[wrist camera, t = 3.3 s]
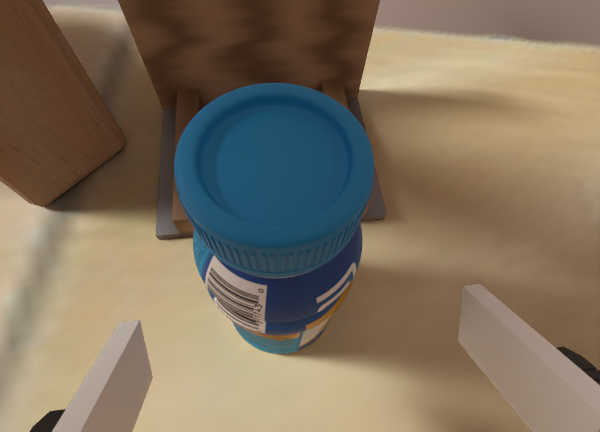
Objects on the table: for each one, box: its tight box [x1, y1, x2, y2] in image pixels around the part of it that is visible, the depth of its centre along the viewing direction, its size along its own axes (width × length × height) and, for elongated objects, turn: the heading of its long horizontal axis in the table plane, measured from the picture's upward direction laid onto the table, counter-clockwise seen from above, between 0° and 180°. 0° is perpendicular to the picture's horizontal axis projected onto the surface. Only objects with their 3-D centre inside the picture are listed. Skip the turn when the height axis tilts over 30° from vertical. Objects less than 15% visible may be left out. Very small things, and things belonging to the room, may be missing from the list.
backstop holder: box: [118, 0, 386, 239], centre depth 29 cm, size 20×16×16 cm
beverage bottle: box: [174, 83, 374, 354], centre depth 21 cm, size 8×8×20 cm
